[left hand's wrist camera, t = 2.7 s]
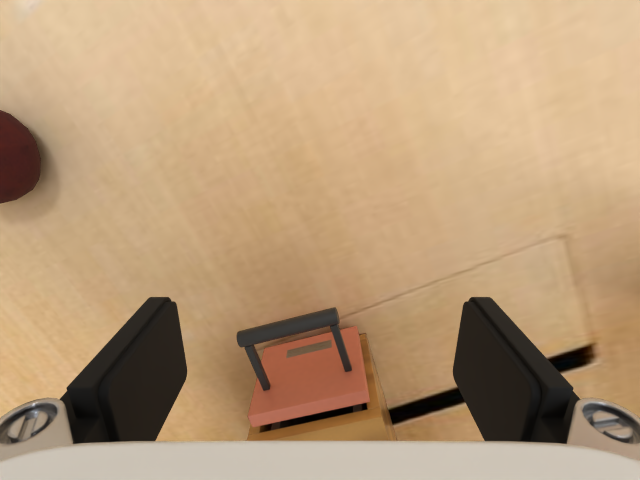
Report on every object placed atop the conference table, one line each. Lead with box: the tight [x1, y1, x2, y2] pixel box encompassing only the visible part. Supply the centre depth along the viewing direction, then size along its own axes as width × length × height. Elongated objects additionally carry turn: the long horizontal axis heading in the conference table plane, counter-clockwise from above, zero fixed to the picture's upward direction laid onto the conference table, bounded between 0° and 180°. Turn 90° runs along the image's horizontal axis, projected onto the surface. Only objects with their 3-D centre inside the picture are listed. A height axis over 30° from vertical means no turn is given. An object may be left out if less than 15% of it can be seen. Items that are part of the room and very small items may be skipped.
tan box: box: [247, 333, 397, 441], centre depth 34 cm, size 19×11×10 cm, turn 16°
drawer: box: [237, 307, 370, 430], centre depth 33 cm, size 24×10×8 cm, turn 16°
